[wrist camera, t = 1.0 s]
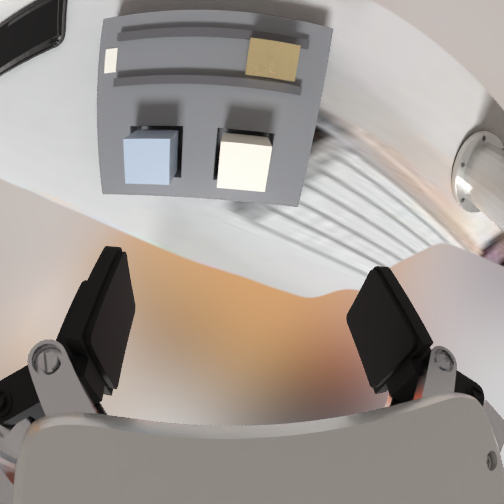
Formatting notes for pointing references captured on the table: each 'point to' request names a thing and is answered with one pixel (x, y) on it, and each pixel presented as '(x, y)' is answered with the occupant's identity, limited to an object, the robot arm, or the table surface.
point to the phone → (31, 32)
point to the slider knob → (272, 59)
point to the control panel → (207, 96)
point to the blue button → (151, 156)
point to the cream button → (244, 162)
